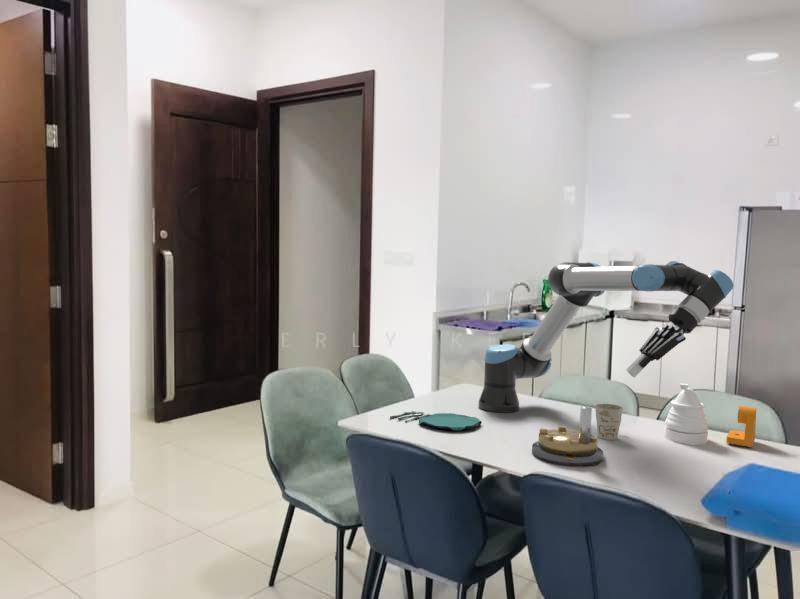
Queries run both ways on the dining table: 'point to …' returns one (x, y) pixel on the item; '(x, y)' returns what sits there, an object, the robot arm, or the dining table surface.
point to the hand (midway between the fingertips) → (630, 373)
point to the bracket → (745, 438)
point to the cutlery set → (443, 420)
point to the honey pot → (686, 419)
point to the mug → (608, 420)
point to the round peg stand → (570, 438)
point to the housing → (567, 457)
